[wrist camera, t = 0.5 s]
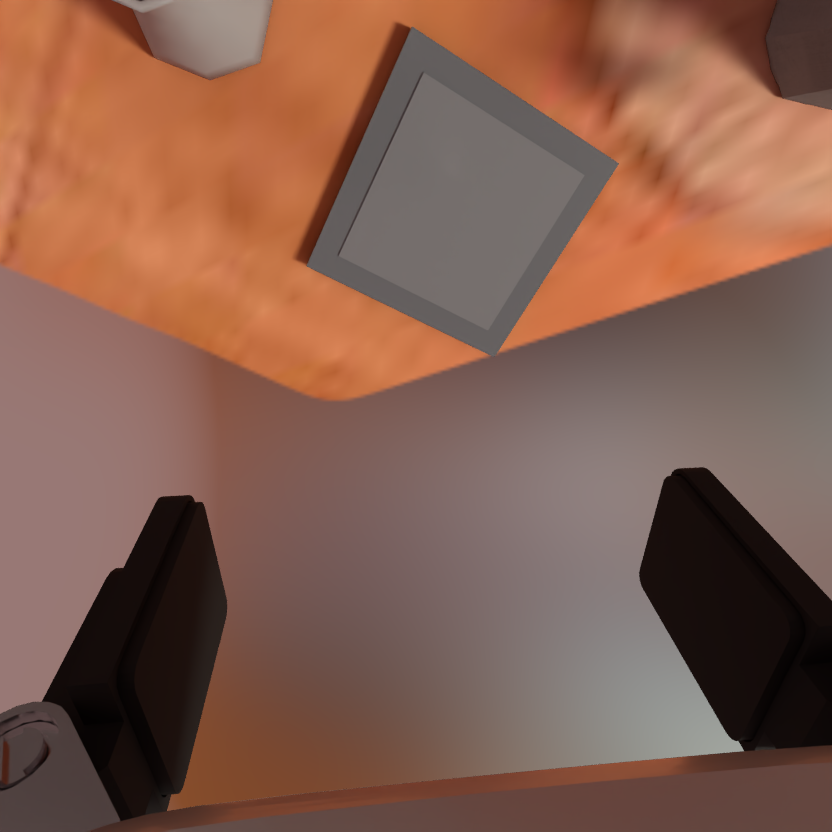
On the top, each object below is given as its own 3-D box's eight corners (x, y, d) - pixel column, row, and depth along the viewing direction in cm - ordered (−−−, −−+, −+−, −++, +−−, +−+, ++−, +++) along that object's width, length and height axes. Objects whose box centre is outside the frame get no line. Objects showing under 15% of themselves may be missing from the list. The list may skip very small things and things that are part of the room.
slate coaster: (410, 28, 30) (412, 26, 29) (613, 162, 34) (619, 163, 33) (307, 262, 36) (306, 266, 35) (492, 352, 40) (494, 357, 39)
